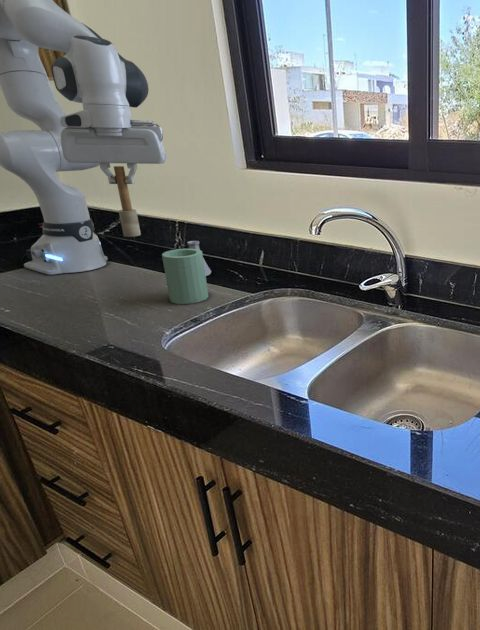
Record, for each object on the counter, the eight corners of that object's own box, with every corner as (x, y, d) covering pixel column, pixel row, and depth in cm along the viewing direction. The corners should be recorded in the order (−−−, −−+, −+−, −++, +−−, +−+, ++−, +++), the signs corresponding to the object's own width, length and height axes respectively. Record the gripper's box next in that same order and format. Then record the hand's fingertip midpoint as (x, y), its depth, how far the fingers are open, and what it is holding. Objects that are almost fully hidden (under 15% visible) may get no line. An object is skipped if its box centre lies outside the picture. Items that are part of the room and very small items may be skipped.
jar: (162, 301, 120) (153, 255, 115) (188, 290, 128) (181, 247, 123) (191, 306, 117) (183, 259, 113) (215, 294, 125) (209, 250, 121)
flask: (215, 272, 144) (211, 239, 140) (203, 279, 137) (198, 245, 133) (193, 270, 144) (188, 238, 141) (179, 277, 138) (174, 244, 134)
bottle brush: (120, 236, 113) (105, 166, 107) (132, 233, 116) (119, 165, 110) (131, 237, 112) (117, 167, 106) (144, 234, 115) (131, 166, 110)
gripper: (164, 121, 110) (174, 182, 115) (64, 118, 105) (79, 182, 111) (156, 120, 104) (166, 185, 109) (50, 117, 100) (66, 185, 105)
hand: (122, 183), depth 110 cm, fingers closed on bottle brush, 2 cm apart
